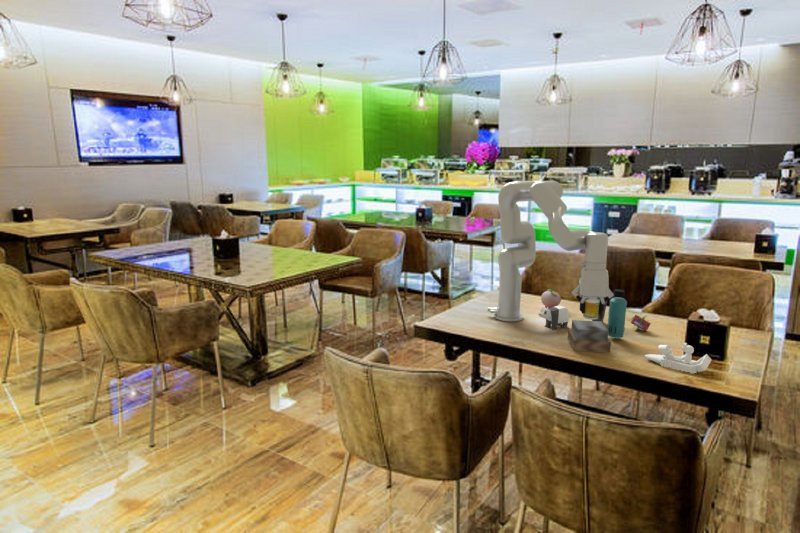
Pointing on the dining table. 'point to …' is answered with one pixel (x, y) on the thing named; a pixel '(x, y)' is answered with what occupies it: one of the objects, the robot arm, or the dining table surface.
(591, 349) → the mottled stone block
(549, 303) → the decorative fruit
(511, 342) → the dining table surface
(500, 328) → the dining table surface
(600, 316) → the beverage cup
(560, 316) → the giant panda
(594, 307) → the supplement bottle
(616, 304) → the beverage bottle
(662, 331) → the dining table surface
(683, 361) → the toy boat
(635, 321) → the geometric puzzle
